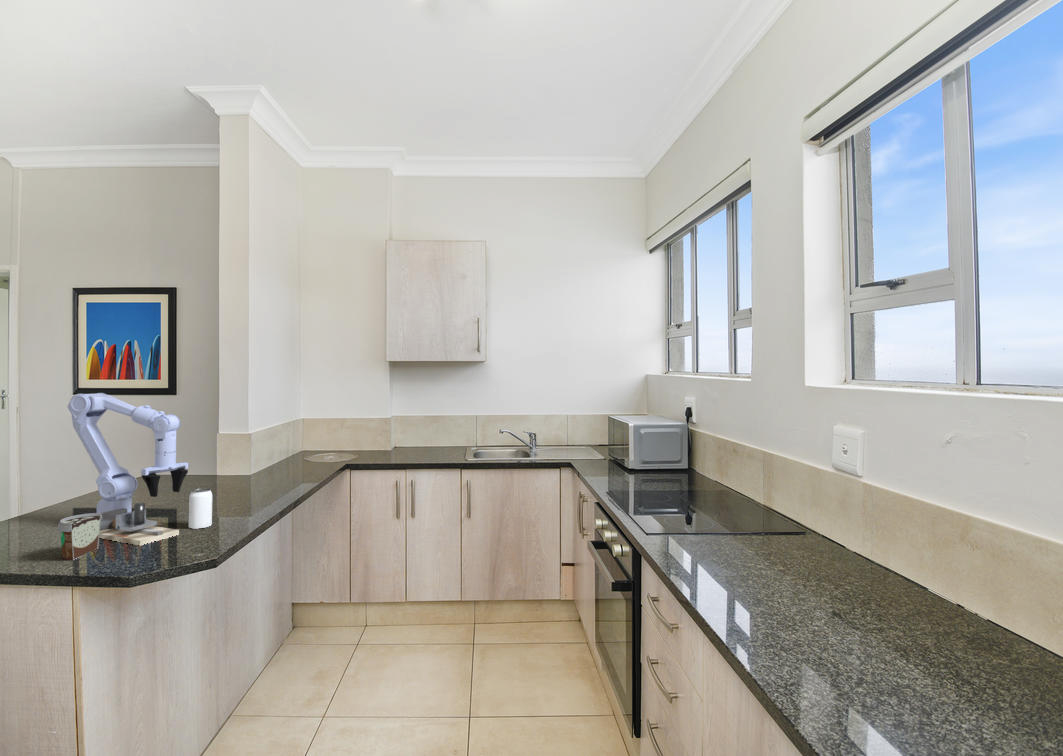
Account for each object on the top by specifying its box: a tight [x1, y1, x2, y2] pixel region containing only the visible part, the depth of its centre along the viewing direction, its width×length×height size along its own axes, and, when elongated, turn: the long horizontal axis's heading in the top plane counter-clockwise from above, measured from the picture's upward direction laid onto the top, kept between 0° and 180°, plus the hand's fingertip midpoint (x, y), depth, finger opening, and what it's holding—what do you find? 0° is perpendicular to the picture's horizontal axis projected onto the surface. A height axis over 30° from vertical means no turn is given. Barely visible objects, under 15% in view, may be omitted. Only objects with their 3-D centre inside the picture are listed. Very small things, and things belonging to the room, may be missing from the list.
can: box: [188, 487, 213, 530], centre depth 179 cm, size 6×6×12 cm
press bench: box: [99, 508, 180, 547], centre depth 167 cm, size 22×12×6 cm, turn 71°
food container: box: [56, 512, 102, 561], centre depth 149 cm, size 12×6×10 cm, turn 5°
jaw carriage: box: [116, 502, 158, 532], centre depth 167 cm, size 6×8×7 cm
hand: (165, 494), depth 178 cm, fingers open, 7 cm apart
